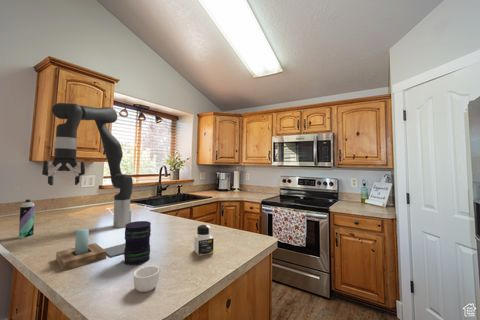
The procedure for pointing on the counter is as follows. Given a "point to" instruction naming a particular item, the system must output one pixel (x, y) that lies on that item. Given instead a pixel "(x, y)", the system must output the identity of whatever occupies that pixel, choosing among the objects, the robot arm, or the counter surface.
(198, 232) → the medicine bottle
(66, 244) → the counter surface
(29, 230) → the spray can
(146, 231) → the storage jar
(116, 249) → the mat
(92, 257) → the pocket block
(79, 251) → the peg
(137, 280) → the teacup
